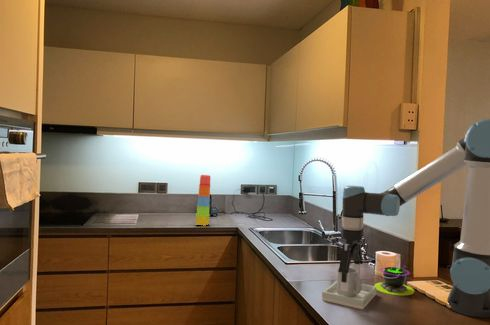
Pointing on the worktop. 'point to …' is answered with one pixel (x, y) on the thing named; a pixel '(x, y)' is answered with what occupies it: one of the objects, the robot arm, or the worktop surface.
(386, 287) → the toy cauldron
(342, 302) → the shallow rectangular tray
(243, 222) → the worktop surface
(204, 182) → the stacking cups
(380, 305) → the worktop surface
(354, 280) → the cup
